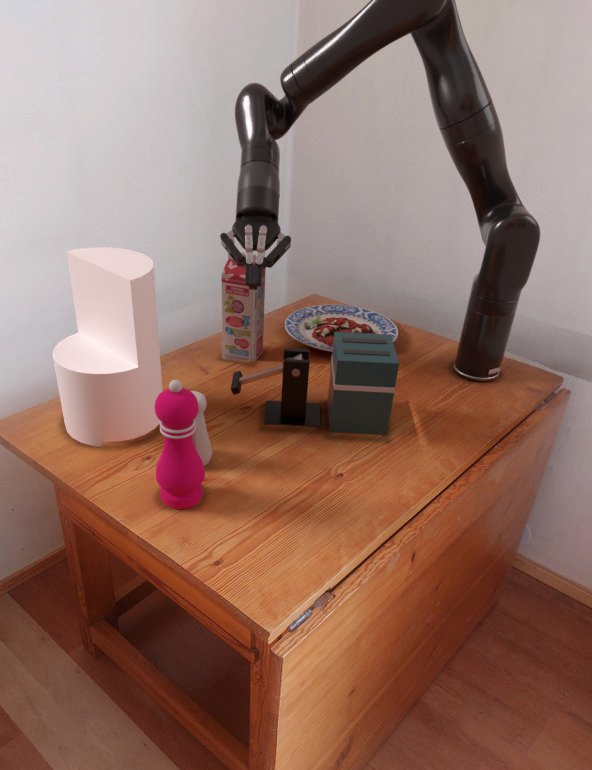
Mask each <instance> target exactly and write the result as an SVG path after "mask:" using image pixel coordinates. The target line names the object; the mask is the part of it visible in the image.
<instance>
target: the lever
mask: <svg viewBox="0 0 592 770" xmlns="http://www.w3.org/2000/svg"><path fill="white" fill-rule="evenodd" d="M286 359H297V360H304V359H303V356H302V354H299V355H295V356H292V357H289V358H286ZM280 374H283V364H280V365H277V366H274V367H269V368H267V369H264V370H260V371H257V372H254V373H250V374H247V375H244V376H243V373H242V371H241V370H237V371H233V373H232V379H231V385H230V391H231V394H232V395H233V396H234V395H239V394H241V391H242V386H243V385H246V384H250V383H254V382H256V381H259V380H260V381H261V380H263V379H266V378H270V377H274V376H277V375H280Z"/></svg>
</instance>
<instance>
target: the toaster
mask: <svg viewBox="0 0 592 770" xmlns="http://www.w3.org/2000/svg"><path fill="white" fill-rule="evenodd" d="M394 343H395V342H393V339H392V336H391V335H388V334H368V333H348V332H334V342H333V352H331V353H332V354H331V358H330V359H331V360H330V361H331V364H330V372H329V373H330V374H329V381H328V392H327V412H328V427H329V433H337V434H338V433H339V434H358V435H359V434H360V435H379V436H388V432H389V426H390V420H391V414H392V408H393V402H394V396H395V393H396V384H397V378H398V373H399V367H400V362H399V358H398V354H397V350H396V347H395V344H394Z"/></svg>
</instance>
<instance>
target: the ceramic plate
mask: <svg viewBox="0 0 592 770" xmlns="http://www.w3.org/2000/svg"><path fill="white" fill-rule="evenodd" d="M284 329H285V331H286V333H287V334H288V335H289V336H290V337H291V338H292V339H293V340H296V341H297V342H299V343H300V344H302V345H305V346H308V347H310V348H312V349H317V350H321V351H325V352H330V353H332V352H333V342H334V332H348V333H368V334H388V335H391V336H392V339H393V343H395V341H396V340H397V339H398V337H399V329H398V327H397V325H396V324H395V323H394V322H393V321H392V320H391V319H390V318H388V317H386V316H385V315H383V314H381V313H379V312H376V311H374V310H371V309H368V308H363V307H359V306H354V305H347V304H318V305H311V306H307V307H303V308H300V309H297V310H296V311H294V312H292V313H291V314H289V315H288V316H287V317H286V319H285V321H284Z"/></svg>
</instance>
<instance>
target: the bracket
mask: <svg viewBox="0 0 592 770" xmlns="http://www.w3.org/2000/svg"><path fill="white" fill-rule="evenodd" d="M299 354H302V356H303V359H304V360H297V359H286V358H289V357H292V356H295V355H299ZM282 361H283V362H282V365H283V373H282V382H281V400H266V401H265V411H264V423H263V424H264V425H273V426H275V425H276V426H294V427H312V428H313V427H316V428H321V427H322V419H321V403H320V402H307V401H308V400H307V399H308V390H309V389H308V387H309V377H310V376H309V375H310V365H311V364H310V363H311V362H310V361H311V360H310V349H308V348H307V349H306V348H305V349H304V348H286V347H284V348H283V360H282Z"/></svg>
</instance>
